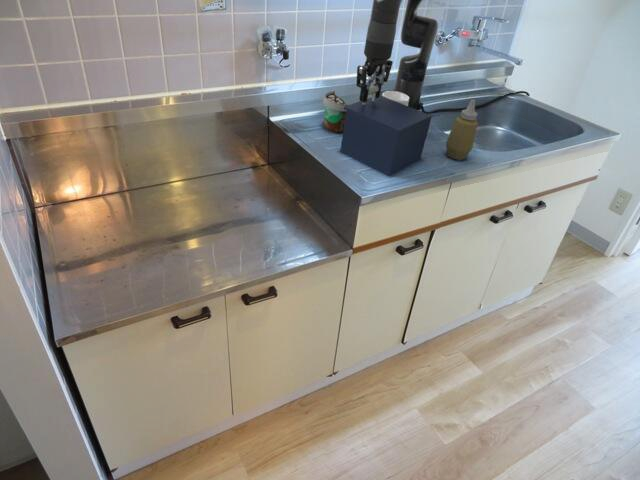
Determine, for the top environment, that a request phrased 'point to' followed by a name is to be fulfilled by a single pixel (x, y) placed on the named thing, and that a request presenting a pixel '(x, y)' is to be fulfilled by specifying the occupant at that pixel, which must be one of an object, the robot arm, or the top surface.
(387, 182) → the top surface
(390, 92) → the cup
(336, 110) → the food container
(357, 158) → the dish tub
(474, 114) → the squeeze bottle
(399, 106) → the tub lid
